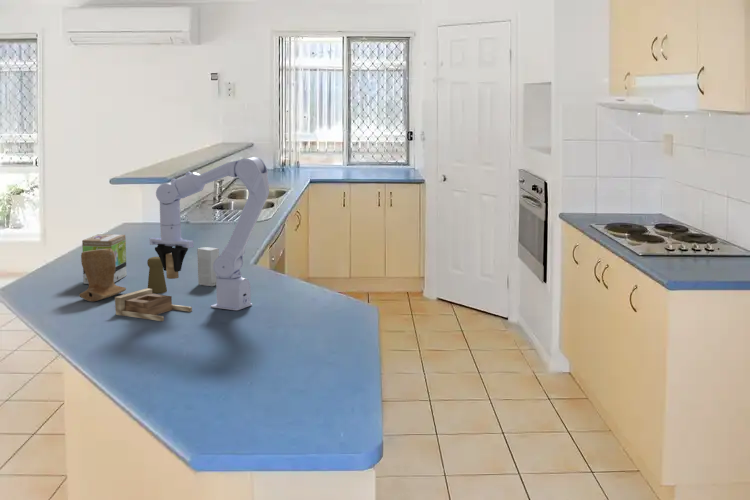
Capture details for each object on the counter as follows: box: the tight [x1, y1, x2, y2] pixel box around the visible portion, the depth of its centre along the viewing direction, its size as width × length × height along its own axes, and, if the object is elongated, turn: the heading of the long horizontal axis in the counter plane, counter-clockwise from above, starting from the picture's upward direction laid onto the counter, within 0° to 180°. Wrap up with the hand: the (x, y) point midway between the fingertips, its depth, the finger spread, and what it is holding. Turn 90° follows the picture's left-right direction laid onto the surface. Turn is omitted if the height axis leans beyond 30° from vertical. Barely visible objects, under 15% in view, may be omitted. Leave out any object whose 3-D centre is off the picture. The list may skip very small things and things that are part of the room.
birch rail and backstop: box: [114, 287, 193, 322], centre depth 233 cm, size 16×13×5 cm
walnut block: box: [125, 293, 173, 316], centre depth 234 cm, size 8×10×4 cm
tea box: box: [81, 233, 128, 285], centre depth 277 cm, size 15×10×15 cm, turn 179°
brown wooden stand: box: [78, 248, 127, 303], centre depth 251 cm, size 15×12×15 cm
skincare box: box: [196, 246, 220, 287], centre depth 270 cm, size 6×4×12 cm
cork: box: [147, 256, 168, 295], centre depth 260 cm, size 6×6×11 cm
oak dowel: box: [165, 253, 180, 280], centre depth 242 cm, size 3×3×7 cm
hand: (172, 270), depth 242 cm, fingers closed on oak dowel, 3 cm apart
